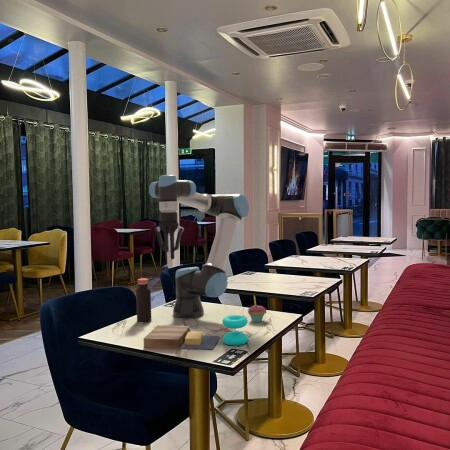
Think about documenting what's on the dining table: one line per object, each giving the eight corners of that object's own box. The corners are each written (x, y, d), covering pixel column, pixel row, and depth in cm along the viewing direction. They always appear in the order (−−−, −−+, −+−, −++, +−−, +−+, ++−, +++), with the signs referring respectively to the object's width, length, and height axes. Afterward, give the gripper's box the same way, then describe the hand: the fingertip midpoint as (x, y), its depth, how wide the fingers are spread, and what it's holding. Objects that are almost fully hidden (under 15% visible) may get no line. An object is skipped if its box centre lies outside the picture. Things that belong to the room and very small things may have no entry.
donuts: (242, 322, 176) (218, 320, 180) (243, 347, 177) (219, 345, 180) (250, 315, 185) (227, 313, 189) (251, 339, 186) (228, 337, 190)
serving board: (157, 334, 196) (157, 325, 196) (190, 335, 194) (189, 326, 193) (143, 348, 178) (143, 338, 178) (179, 349, 176) (178, 339, 176)
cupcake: (244, 320, 215) (243, 295, 214) (258, 317, 220) (257, 292, 219) (256, 324, 208) (255, 298, 207) (270, 321, 213) (269, 295, 212)
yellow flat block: (188, 337, 189) (188, 331, 189) (203, 337, 188) (202, 331, 188) (184, 344, 180) (184, 338, 180) (200, 344, 180) (200, 338, 179)
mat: (190, 336, 193) (190, 335, 192) (220, 337, 191) (220, 335, 190) (181, 348, 177) (180, 347, 177) (213, 349, 175) (212, 348, 175)
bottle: (153, 319, 220) (152, 278, 219) (147, 323, 213) (146, 280, 212) (140, 318, 222) (139, 277, 221) (134, 322, 215) (132, 280, 214)
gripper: (150, 212, 193) (152, 268, 195) (181, 211, 191) (182, 268, 192) (156, 211, 200) (158, 265, 202) (185, 211, 198) (186, 265, 200)
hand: (170, 266), depth 197 cm, fingers closed
